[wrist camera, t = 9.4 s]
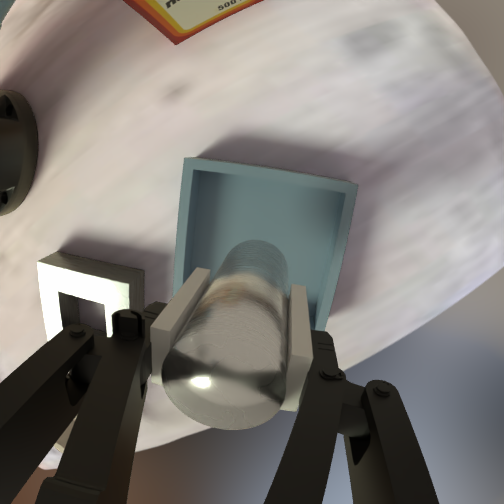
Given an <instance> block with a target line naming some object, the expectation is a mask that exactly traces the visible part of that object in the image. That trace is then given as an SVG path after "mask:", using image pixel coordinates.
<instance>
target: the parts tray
mask: <svg viewBox="0 0 504 504" xmlns="http://www.w3.org/2000/svg"><path fill="white" fill-rule="evenodd" d="M357 189H358V185H357V184H355V183H352V182H350V181H345V180H340V179H335V178H330V177H325V176H319V175H314V174H308V173H303V172H297V171H291V170H285V169H279V168H273V167H266V166H260V165H253V164H246V163H239V162H231V161H223V160H215V159H207V158H198V157H190V158H184V164H183V173H182V182H181V192H180V202H179V212H178V223H177V235H176V249H175V263H174V280H173V297H174V296H175V294H176V293H177V292H178V290H179V289H180V288H181V287H182V285H183V284H184V283H185V282H186V280H187V279H188V278H189V277H190V275H191V274H192V273H193V272H194V270H195V269H196V268H197V267H198V268H204V269H209V270H211V271H210V280H209V284H210V282H211V281H212V279H213V277H214V276H215V274H216V272H217V271H218V269H219V267H220V266H221V264H222V263H223V261H224V259H225V258H226V256H227V254H228V253H229V252H230V250H231V249H232V248H233V247H235V246H236V245H238V244H239V243H241V242H244V241H247V240H262V241H266V242H269V243H271V244H273V245H274V246H275V247H277V248H278V249H279V250H280V251H281V252H282V253H283V255H284V257H285V259H286V261H287V264H288V299H289V294H290V289H291V284H296V285H302V286H306V294H307V303H308V312H309V321H310V329H312V330H319V331H325V327H326V323H327V320H328V316H329V312H330V309H331V305H332V301H333V297H334V293H335V290H336V286H337V282H338V277H339V273H340V269H341V265H342V261H343V256H344V252H345V248H346V243H347V239H348V234H349V229H350V225H351V220H352V215H353V210H354V205H355V200H356V195H357Z"/></svg>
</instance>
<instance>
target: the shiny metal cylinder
mask: <svg viewBox="0 0 504 504" xmlns="http://www.w3.org/2000/svg"><path fill="white" fill-rule="evenodd" d="M287 333H288V264H287V261H286V259H285V257H284V255H283V253H282V252H281V251H280V250H279V249H278V248H277V247H275V246H274V245H273V244H271V243H269V242H266V241H262V240H247V241H244V242H241V243H239V244H238V245H236V246H235V247H233V248H232V249H231V250H230V252H229V253H228V254H227V256H226V258H225V259H224V261H223V263H222V264H221V266H220V267H219V269H218V271H217V272H216V274H215V276H214V277H213V279H212V281H211V282H210V284H209V285H208V287H207V289H206V290H205V292H204V294H203V295H202V297H201V299H200V300H199V302H198V304H197V305H196V307H195V309H194V310H193V312H192V314H191V315H190V317H189V319H188V320H187V322H186V324H185V325H184V327H183V329H182V330H181V332H180V334H179V335H178V337H177V339H176V340H175V342H174V344H173V345H172V347H171V349H170V350H169V352H168V354H167V355H166V357H165V359H164V362H163V365H162V369H161V378H162V383H163V387H164V389H165V392H166V394H167V395H168V397H169V399H170V400H171V401H172V402H173V404H174V405H175V406H176V407H177V408H178V409H179V410H180V411H182V412H183V413H184V414H185V415H187V416H188V417H190V418H192V419H193V420H195V421H197V422H199V423H202V424H204V425H207V426H210V427H214V428H220V429H227V430H240V429H247V428H252V427H255V426H258V425H260V424H262V423H264V422H266V421H268V420H269V419H271V418H272V417H273V416H274V415H275V414H276V413H277V412H278V411H279V410H280V408H281V406H282V405H283V402H284V399H285V395H286V369H287Z"/></svg>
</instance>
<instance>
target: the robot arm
mask: <svg viewBox="0 0 504 504" xmlns="http://www.w3.org/2000/svg"><path fill="white" fill-rule="evenodd" d="M14 2H15V0H0V29H1V25H2V24H1V23H2V21H3V20H4V18H5V16H6V15H7V13H8V11H9V10H10V8H11V7H12V5H13V4H14ZM37 152H38V137H37V127H36V122H35V118H34V115H33V112H32V109H31V107H30V105H29V104H28V102H27V101H26V99H25V98H24V97H23V96H22V95H20V94H19V93H17V92H15V91H9V90H0V216H2V215H6V214H8V213H11V212H12V211H14V210H15V209H16V208H17V207H18V206H19V205H20V204H21V203H22V201H23V200H24V198H25V196H26V195H27V193H28V191H29V188H30V186H31V183H32V180H33V176H34V173H35V168H36V162H37ZM210 271H211V270H209V269H204V268H198V267H197V268H196V269H195V270H194V272H193V273H192V274H191V275H190V277H189V278H188V279H187V280H186V282H185V283H184V284H183V285H182V287H181V288H180V289H179V290H178V292H177V293H176V294H175V296H174V297H173V298H172V299H171V301H170V302H169V303H168V304H166V303H161V302H154V303H152V304H150V305H148V306H147V307H146V309H145V310H144V312H140V311H138V310H134V309H122V310H118V311H116V312H114V313H113V314H112V315H111V317H112V332H113V334H112V336H111V337H102V336H94V334H93V329H92V328H91V327H90V326H88V325H86V324H81V323H75V324H71V325H68V326H66V327H65V328H64V329H62V330H61V331H60V332H59V333H58V334H56V335H55V336H54V337H53V338H52V339H50V340H49V341H48V342H47V343H46V344H44V345H43V346H42V347H41V348H40V349H39V350H37V351H36V352H35V353H34V354H33V355H32V356H30V357H29V358H28V359H27V360H26V361H25V362H24V363H22V364H21V365H20V366H19V367H18V368H17V369H16V370H14V371H13V372H12V373H11V374H10V375H9V376H8V377H7V378H5V379H4V380H3V381H2V382H1V383H0V504H11V503H12V501H13V499H14V498H15V497H16V496H17V494H18V493H19V491H20V490H21V489H22V487H23V486H24V484H25V483H26V482H27V480H28V479H29V477H30V476H31V475H32V474H33V472H34V471H35V469H36V468H37V467H38V466H39V464H40V463H41V462H42V460H43V459H44V458H45V456H46V455H47V454H48V452H49V451H50V450H51V448H52V447H53V446H54V444H55V443H56V442H57V440H58V439H59V438H60V436H61V435H62V434H63V433H64V431H65V430H66V429H67V427H68V426H69V425H70V424H71V422H72V421H73V420H74V418H75V417H76V416H77V417H76V420H75V422H74V425H73V427H72V430H71V433H70V435H69V438H68V441H67V443H66V446H65V449H64V452H63V454H62V457H61V460H60V463H59V466H58V469H57V472H56V474H55V476H54V477H47V478H46V479H45V480H44V481H43V483H42V485H41V487H40V490H39V493H38V496H37V499H36V502H35V504H126V503H127V496H128V490H129V483H130V477H131V471H132V465H133V459H134V454H135V448H136V443H137V437H138V432H139V427H140V422H141V417H142V412H143V407H144V402H145V397H146V393H147V379H148V377H149V376H150V374H151V379H152V383H155V384H158V385H162V386H163V383H162V378H161V369H162V365H163V362H164V359H165V357H166V355H167V354H168V352H169V350H170V349H171V347H172V345H173V344H174V342H175V340H176V339H177V337H178V335H179V334H180V332H181V330H182V329H183V327H184V325H185V324H186V322H187V320H188V319H189V317H190V315H191V314H192V312H193V310H194V309H195V307H196V305H197V304H198V302H199V300H200V299H201V297H202V295H203V294H204V292H205V290H206V289H207V287H208V285H209V280H210ZM68 372H69V373H68ZM298 404H299V412H298V414H297V417H296V420H295V423H294V426H293V429H292V432H291V434H290V437H289V440H288V443H287V446H286V448H285V451H284V454H283V457H282V459H281V462H280V464H279V467H278V470H277V472H276V475H275V477H274V480H273V482H272V485H271V487H270V489H269V492H268V494H267V497H266V499H265V502H264V504H322V501H323V497H324V493H325V489H326V484H327V480H328V475H329V471H330V466H331V462H332V458H333V453H334V448H335V443H336V437H337V433H340V434H343V435H344V442H345V449H346V455H347V461H348V468H349V475H350V482H351V490H352V497H353V504H439V502H438V498H437V495H436V492H435V489H434V486H433V483H432V480H431V477H430V474H429V471H428V468H427V466H426V463H425V460H424V457H423V454H422V452H421V449H420V446H419V443H418V441H417V438H416V436H415V433H414V430H413V428H412V425H411V422H410V420H409V417H408V415H407V412H406V410H405V407H404V405H403V402H402V400H401V397H400V395H399V392H398V390H397V389H396V387H395V386H393V385H392V384H391V383H388V382H386V381H383V380H372V381H370V382H368V383H367V385H366V386H365V387H362V386H359V385H356V384H353V383H351V382H349V381H347V380H346V375H345V373H344V372H343V371H342V370H341V369H339V368H338V363H337V358H336V353H335V348H334V343H333V338H332V337H331V336H330V335H329V333H328V332H326V331H319V330H312V329H310V321H309V312H308V303H307V294H306V286H302V285H296V284H291V289H290V294H289V299H288V333H287V369H286V395H285V399H284V402H283V405H282V406H281V408H280V409H281V410H289V411H296V410H297V408H298Z"/></svg>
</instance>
